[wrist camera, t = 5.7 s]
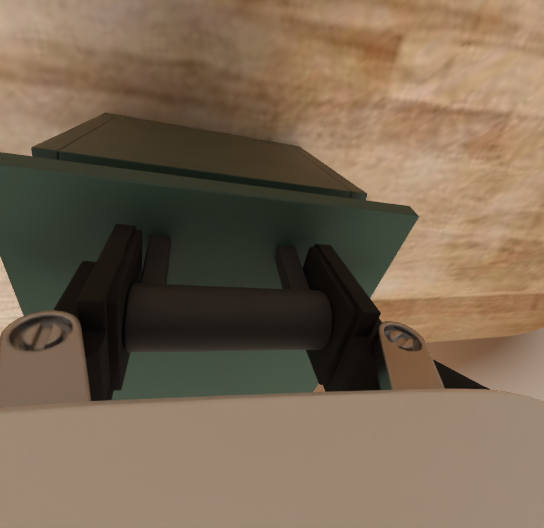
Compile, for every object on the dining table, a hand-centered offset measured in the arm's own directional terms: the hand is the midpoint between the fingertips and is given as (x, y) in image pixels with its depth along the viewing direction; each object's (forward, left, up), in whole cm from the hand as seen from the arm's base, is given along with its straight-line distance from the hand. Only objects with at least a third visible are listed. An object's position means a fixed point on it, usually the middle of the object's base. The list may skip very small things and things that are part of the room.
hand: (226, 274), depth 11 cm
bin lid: (+5, -2, -3) cm, 6 cm away
